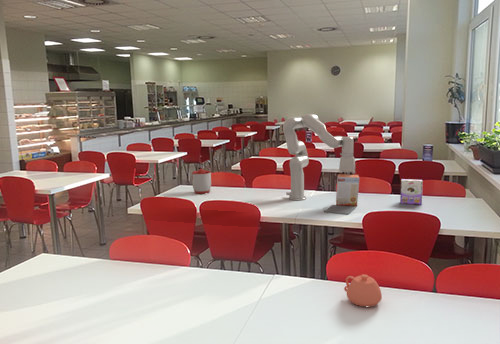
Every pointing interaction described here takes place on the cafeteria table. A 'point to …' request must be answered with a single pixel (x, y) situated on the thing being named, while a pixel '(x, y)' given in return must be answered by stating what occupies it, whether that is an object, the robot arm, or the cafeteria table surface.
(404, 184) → the candy box
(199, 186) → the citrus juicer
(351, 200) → the cracker box
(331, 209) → the mat
